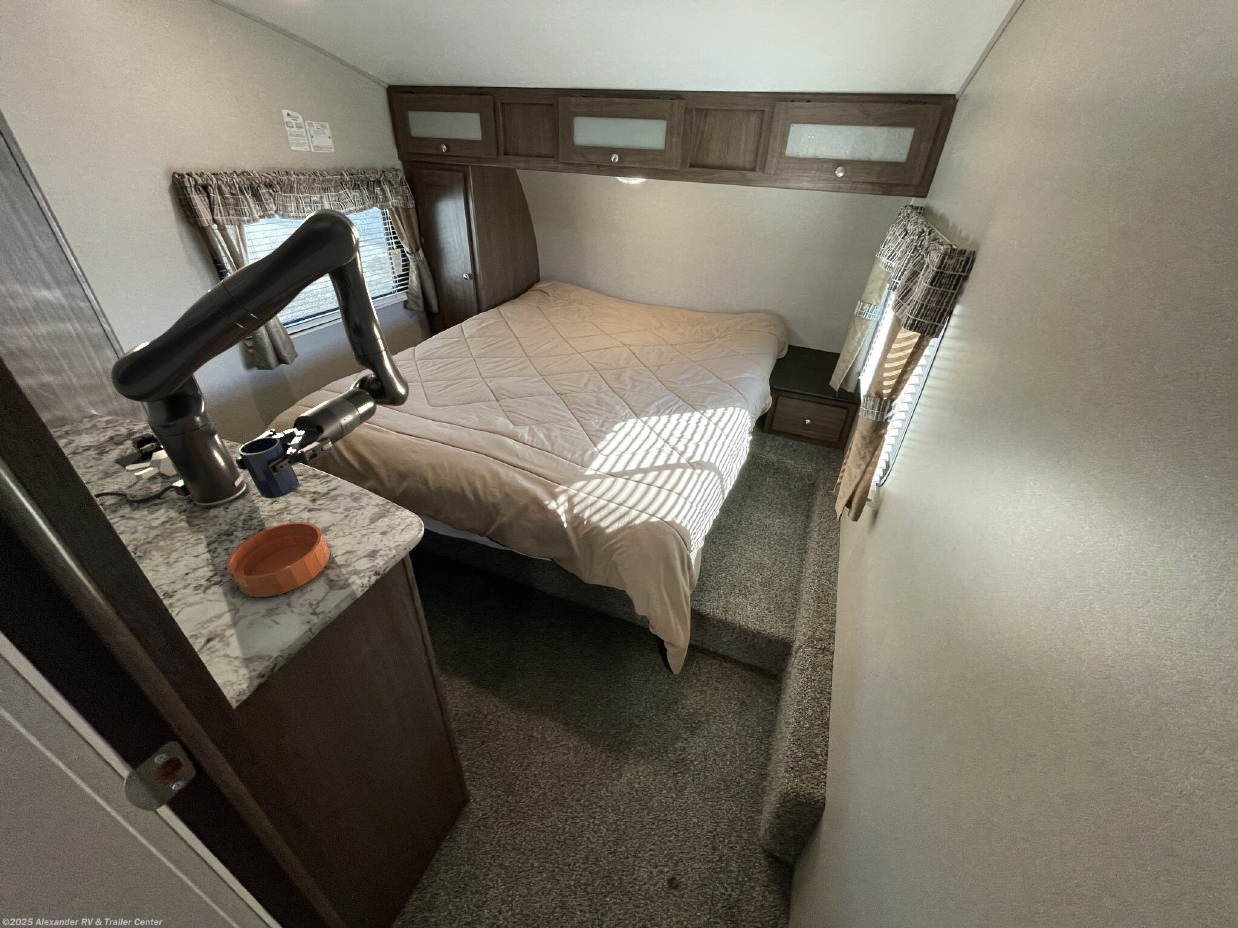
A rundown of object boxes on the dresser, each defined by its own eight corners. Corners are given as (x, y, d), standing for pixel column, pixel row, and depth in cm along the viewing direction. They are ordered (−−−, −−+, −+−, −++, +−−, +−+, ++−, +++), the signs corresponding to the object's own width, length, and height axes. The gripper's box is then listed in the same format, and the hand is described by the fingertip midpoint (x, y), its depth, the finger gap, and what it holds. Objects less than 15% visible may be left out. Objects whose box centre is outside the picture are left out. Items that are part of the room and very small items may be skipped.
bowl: (219, 589, 83) (205, 568, 81) (288, 536, 95) (277, 516, 92) (285, 606, 80) (273, 585, 77) (348, 549, 91) (339, 529, 89)
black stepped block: (128, 468, 117) (116, 452, 115) (115, 461, 120) (103, 444, 118) (186, 444, 126) (177, 429, 124) (172, 438, 129) (163, 423, 127)
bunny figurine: (215, 446, 117) (134, 469, 106) (222, 465, 119) (144, 490, 108) (197, 436, 121) (118, 458, 110) (204, 455, 124) (127, 477, 112)
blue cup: (252, 495, 86) (229, 452, 81) (280, 477, 91) (260, 435, 86) (279, 500, 85) (257, 456, 80) (306, 481, 89) (287, 439, 85)
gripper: (292, 401, 96) (211, 443, 82) (353, 409, 92) (279, 454, 79) (306, 435, 100) (231, 480, 86) (365, 443, 96) (296, 492, 83)
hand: (254, 467), depth 83 cm, fingers closed on blue cup, 6 cm apart
